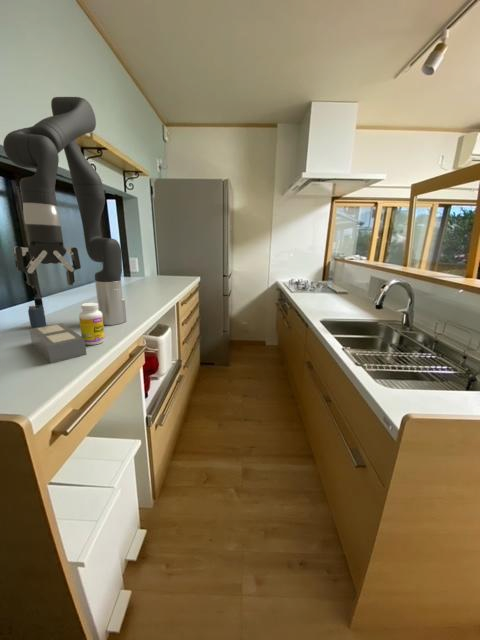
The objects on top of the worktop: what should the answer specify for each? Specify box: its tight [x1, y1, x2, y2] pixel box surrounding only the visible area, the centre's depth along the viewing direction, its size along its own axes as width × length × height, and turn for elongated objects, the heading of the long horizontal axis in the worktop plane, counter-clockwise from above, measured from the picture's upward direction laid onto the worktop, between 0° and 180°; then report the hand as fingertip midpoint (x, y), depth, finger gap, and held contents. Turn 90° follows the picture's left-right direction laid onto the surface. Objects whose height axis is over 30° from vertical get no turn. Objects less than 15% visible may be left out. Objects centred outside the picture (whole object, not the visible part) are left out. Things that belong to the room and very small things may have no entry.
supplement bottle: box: [78, 302, 106, 346], centre depth 87 cm, size 7×7×13 cm
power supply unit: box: [28, 323, 88, 364], centre depth 82 cm, size 9×20×5 cm, turn 48°
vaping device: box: [27, 294, 47, 329], centre depth 101 cm, size 3×5×12 cm, turn 162°
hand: (53, 286), depth 74 cm, fingers open, 8 cm apart
